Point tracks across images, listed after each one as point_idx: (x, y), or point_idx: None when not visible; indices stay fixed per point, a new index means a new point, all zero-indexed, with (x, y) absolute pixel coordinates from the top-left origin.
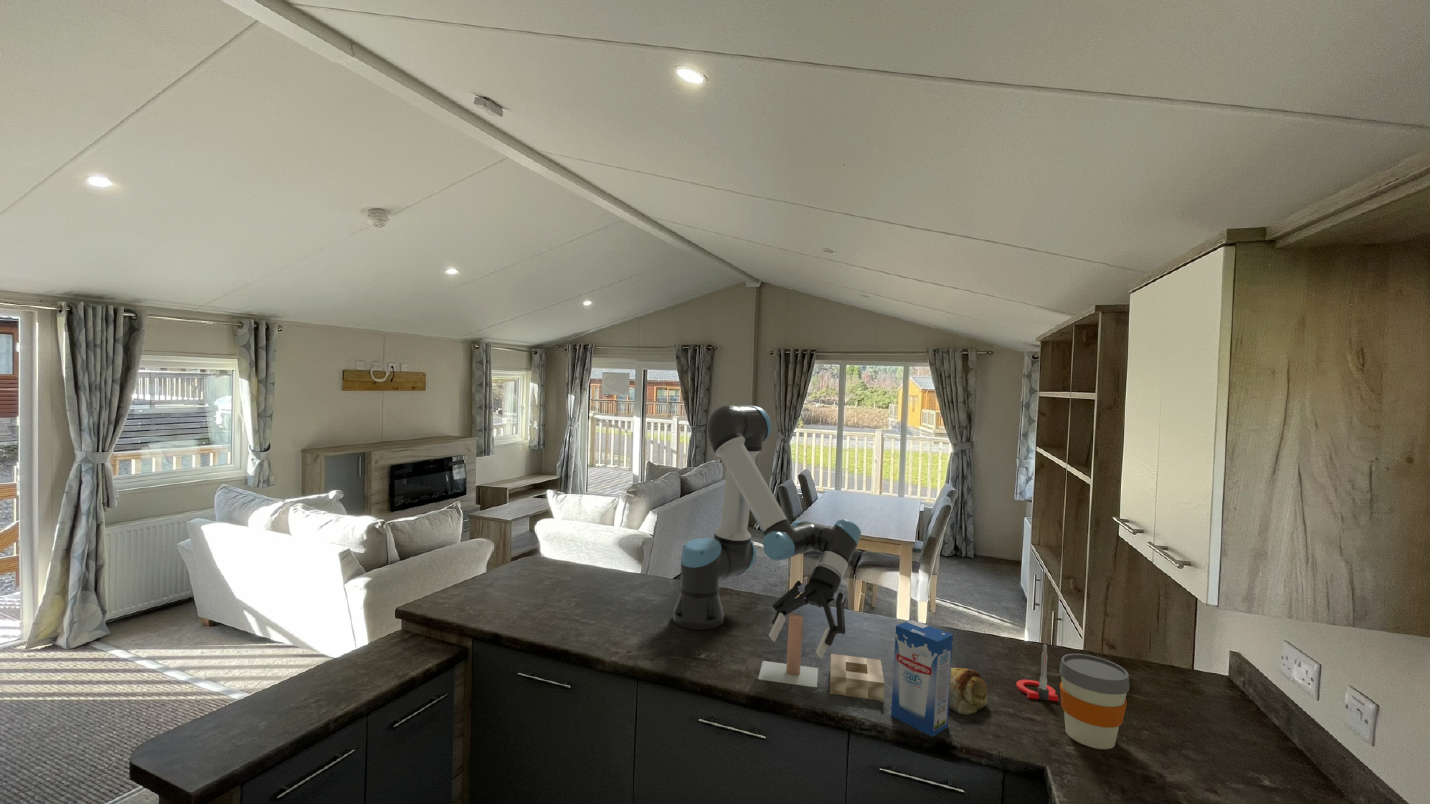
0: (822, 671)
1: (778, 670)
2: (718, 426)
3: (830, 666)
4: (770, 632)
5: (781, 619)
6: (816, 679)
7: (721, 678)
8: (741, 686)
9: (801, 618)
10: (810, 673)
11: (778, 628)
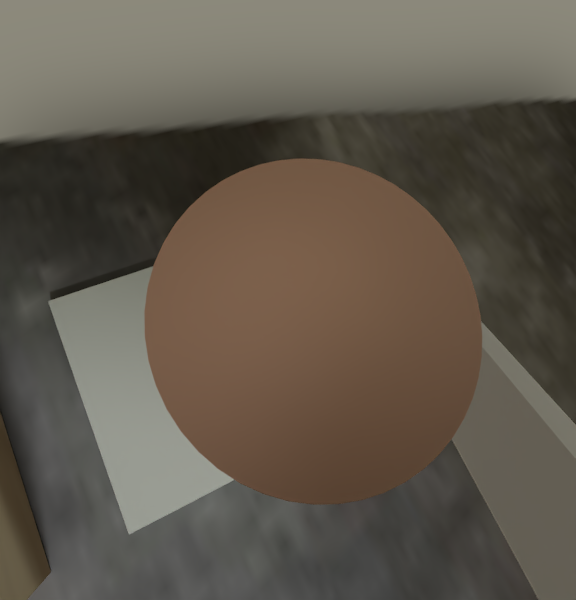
0: (98, 531)
1: None
2: None
3: (27, 573)
4: (492, 338)
5: (566, 516)
6: (83, 382)
7: (444, 149)
8: (353, 135)
9: (152, 280)
10: (143, 429)
11: (488, 435)
